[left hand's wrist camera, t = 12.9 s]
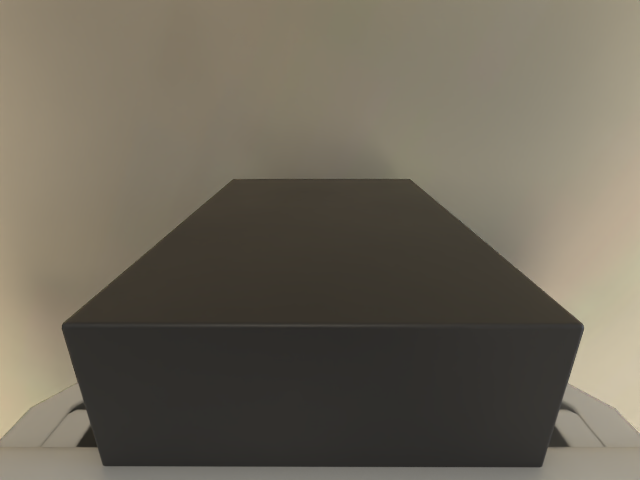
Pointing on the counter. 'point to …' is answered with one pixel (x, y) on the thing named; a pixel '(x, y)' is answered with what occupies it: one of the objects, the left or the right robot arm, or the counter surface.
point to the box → (322, 338)
